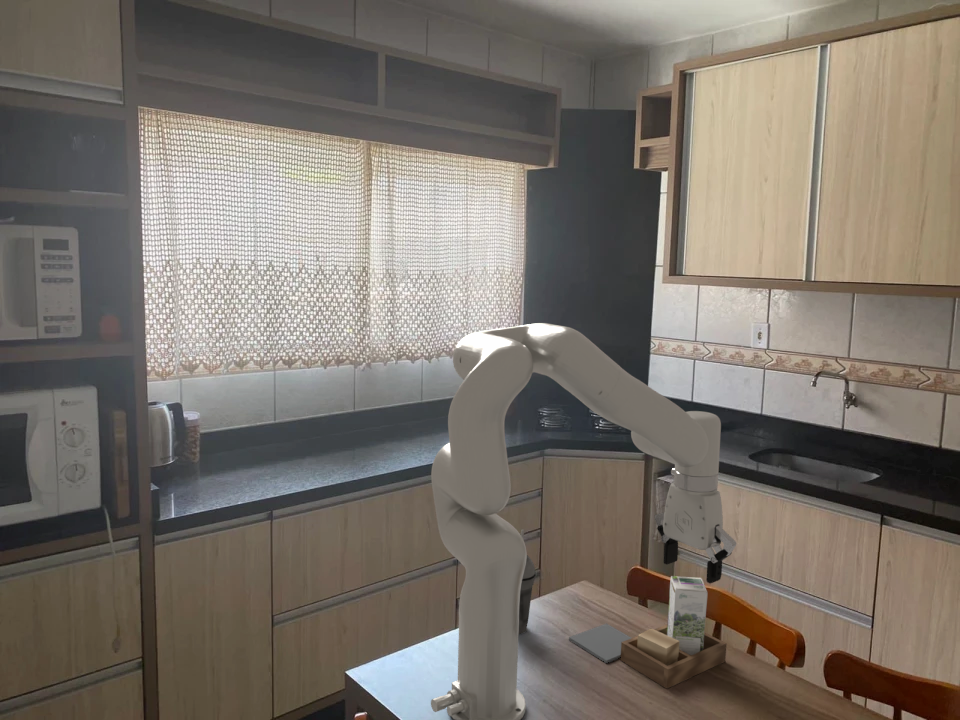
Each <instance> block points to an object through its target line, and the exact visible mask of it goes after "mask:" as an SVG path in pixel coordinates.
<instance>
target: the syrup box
mask: <svg viewBox="0 0 960 720" xmlns="http://www.w3.org/2000/svg"><path fill="white" fill-rule="evenodd" d="M705 585H706V584H705V583H704V581H703V578H702V577H694V576H692V577H691V576H679V575H678V576H677V575H671V576H670V582H669V595H668V597H669V600H668V613H667V614H668V615H667V624H668V625H667V624H666V625H667V636H669V637H672V638H674V639H676V640H678V641H679V649H680V650H682V651H683V652H685V653H687V654H689V655H694V654H696V653H698V652H700V651H703V644H704V632H705V628H706V619H707V618H706V617H707V616H706V615H707V604H708V590H707V588H706V586H705Z"/></svg>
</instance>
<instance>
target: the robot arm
mask: <svg viewBox="0 0 960 720" xmlns="http://www.w3.org/2000/svg"><path fill="white" fill-rule="evenodd" d="M452 363H453V368H454V369H455V372H456V374H457V375H458V376H459V377H460V378H461V379H462V380H463V381H462V382H461V384H460V385H459V387H458V389H457V390H456V392H455V394H454V396H453V398H452V400H451V402H450V406H449V409H448V416H447V417H448V418H447V428H448V429H447V430H448V437H449V440H448V441H449V442H448V443H447V444H444V446H442V447H441V448H440V449H439V451H437V453H436V455H435V457H434V459H433V462H432V466H431V477H430V478H431V487H432V494H433V502H434V510H435V514H436V522H437V529H438V532H439V537H440V539H441V541H442V544H443V545H444V547H445V548H446V550H447V551H448V552H449V554H451V555H452V556H453V557H454V558H455V559H456V560H458V561H459V563H461V565H462V566H463V567H464V568H465V569H464V570H465V577H464V581H463V585H462V586H461V591H460V595H459V606H458V648H457V649H458V652H457V653H458V654H457V680H455V681H452V682H451V689H450V690H448V691H447V692H446V694H445V695H441V696H437V697H435V698H432V699H431V700H430V706H431V709H432V711H433V712H435V713H437V712H440V711H442V710H445V709H446V712H447V714H448V716H449V717H451V718H452V719H453V720H521V719H523V717H524V715H525V714H526V708H527V707H526V706H527V705H526V703H527V702H526V698H525V697H524V695H523V693H522V692H521V691H520V690H519V689H518V688H517V686H518V684H517V683H518V659H519V658H518V656H519V634H518V633H519V602H520V590H521V583H522V578H523V574H524V570H525V565H526V559H527V555H528V553H527V547H526V543H525V541H524V537H523V538H522V536H521V532H519V531H518V529H517V528H515V527H514V526H513V525H512V524H511V523H510V522H509V521H507V520H505V519H504V518H502V517H501V516H500V515H498V513H499V512H501V510H503V509H504V508H505V507H506V506H507V504H508V502H509V499H510V496H511V489H512V485H511V474H510V467H509V460H508V452H507V443H506V436H505V435H506V434H505V422H506V421H505V419H506V415H507V412H508V410H509V407H510V405H511V404H512V402H513V401H514V399H515V398H516V397H517V396H518V395H519V394H520V392H522V390H523V389H524V388H525V387H526V386H527V385H528V383H529V381H530V379H531V377H532V374H534V373H536V374H539V375H543V376H547V377H548V378H550V379H552V380H553V381H555V382H556V383H557V384H559V385H560V386H561V387H562V388H563V389H564V390H566V391H567V392H569V393H570V394H571V395H572V396H573V397H575V398H576V399H578V400H579V401H580V402H581V403H582V404H583V405H585V406H586V407H587V408H589V410H591V411H592V412H593V413H594V414H597V415H598V416H599V417H602V418H603V419H605V420H607V421H608V422H610V423H612V424H615V425H617V426H620V427H621V428H625V429H627V430H628V431H631V432H630V435H631V436H630V437H631V440H632V442H633V444H634V446H635V447H636V448H637V449H638V450H639V451H641V452H643V453H644V454H647V455H649V456H652V457H654V458H657V459H659V460H663V461H666V462H667V463H668V462H669V463H671V464H672V465H674V467H672V469H671V470H670V474H671V475H672V476H674V477H673V482H672V483H670V485H669V489H668V491H667V494H666V500H665V505H664V512H660V513H657V514H655V515H654V521H655V523H656V526H657V531H658V533H659V534H660V537H661V541H662V543H663V564H664V565H670V564H673V563H675V562H677V561H678V557H679V553H678V552H679V543H682V544H684V545H687V546H689V547H692V548H695V549H698V550H701V551H705V552H706V554H707V556H708V558H709V560H708V561H707V564H706V582H707V583H708V584H710V585H711V584H713V583H716V582H718V581H720V580H721V578H722V574H723V573H722V572H723V561H724V560H726V558H728V557H730V556H731V555H732V552H733V551H734V549H735V548H736V546H737V541H736V540H735V539H734V538H733V537H732V536H731V535H730V534H728V533H727V531H726V530H724V528H723V527H724V524H723V523H724V521H723V518H724V517H723V505H722V497H721V496H722V495H721V492H720V491H718V486H719V485H718V484H719V470H720V469H719V467H720V450H721V449H720V448H721V447H720V446H721V430H722V423H721V419H720V417H719V416H718V415H717V414H714V413H712V412H708V411H699V410H690V411H685V410H684V409H683V408H681V406H679V405H677V404H676V403H675V402H673V401H671V400H670V399H669V398H667V397H666V396H664V395H662V394H661V393H659V392H657V391H656V390H655V389H653V388H651V387H650V386H649V385H647V384H646V383H644V382H643V381H641V380H640V379H638V378H636V377H635V376H633V375H632V374H630V373H629V372H627V371H626V370H625V369H624V368H622V367H621V366H620V365H619V364H618V363H617V362H616V361H614V360H613V359H612V358H611V357H610V356H609V355H608V354H606V353H605V352H604V351H603V350H601V349H600V347H598V346H597V345H596V344H595V343H593V342H592V341H591V340H590V339H589V338H588V337H586V336H585V335H584V334H583V333H582V332H580V331H579V330H576V329H574V328H572V327H569V326H564V325H557V324H552V323H547V322H537V323H531V324H530V323H529V324H524V325H516V326H515V325H514V326H510V327H502V328H493V329H488V330H487V329H486V330H480V331H476V332H475V331H474V332H471V333H469V334H467V335H465V336H464V337H463V338H461V340H459V341H458V343H457V344H456V346H455V348H454V351H453V355H452ZM722 543H723V547H722V546H721V544H722Z"/></svg>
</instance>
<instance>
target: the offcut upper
mask: <svg viewBox="0 0 960 720" xmlns="http://www.w3.org/2000/svg"><path fill="white" fill-rule="evenodd" d="M654 629H655V628H648V629H647V630H645V631H643V632H642V633H639V634H637V636H638V642H637V649H639V650H641V651H643V652H644V653H646V654H648V655H649V656H651V657H653V658H655V659H656V660H658V661H660V662H662V663H663V664H665V665H666V664H667V663H669V662H671V661H673V660H674V659H676V658H678V656H679V641H678V640H676V639H674V638H672V637H669V636H667V635H665V634H663V633H661V632H658V631H656V630H654Z"/></svg>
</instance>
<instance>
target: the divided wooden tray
mask: <svg viewBox="0 0 960 720" xmlns="http://www.w3.org/2000/svg"><path fill="white" fill-rule="evenodd" d="M667 625H668V623H667V624H664V625H662V626H659V627H657V628H653V629H654V630H656V631H658V632H661V633H663V634H665V635H667ZM637 642H638V635H636V636H633V637H631V639H628V640H626V641H623V642H621V658H619V659H620V661H621V662H622V661H623V663H624V662H625V663H624V664H626V665H627V664H628V666H629V667H630V668H632V669H634V670H636V671H637V672H639V673H641V675H644V676H645V677H646V678H649V679H650V680H652V681H654V682H655V683H657V684H658V685H660V686H661V687H663V688H665V689H670V688H671V687H674V686H675V685H678V684H680V683H681V682H684V681H686V680H688V679H691V678H693V677H694V676H697V675H699V674H701V673H703V672H706V671H708V670H710V669H712V668H715V667H717V666H719V665H721V664H723V663H725V662H726V660H727V659H726V657H727V643H726V642H725V641H722V640H721V639H719V638H717V637H714V636H713V635H710V634H709V633H707V632H705V631H704V644H703V651H700V652H698V653H696V654H694V655H689V654H687V653H685V652H683V651H682V650H680V649H679V656H678V661H677V662H675V663H673V664H671V665H668V666H667V665H665V664H663V663H662V662H660V661H658V660H656V659H655V658H653V657H651V656H649V655H648V654H646V653H644V652H643V651H641V650H639V649H637Z"/></svg>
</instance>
